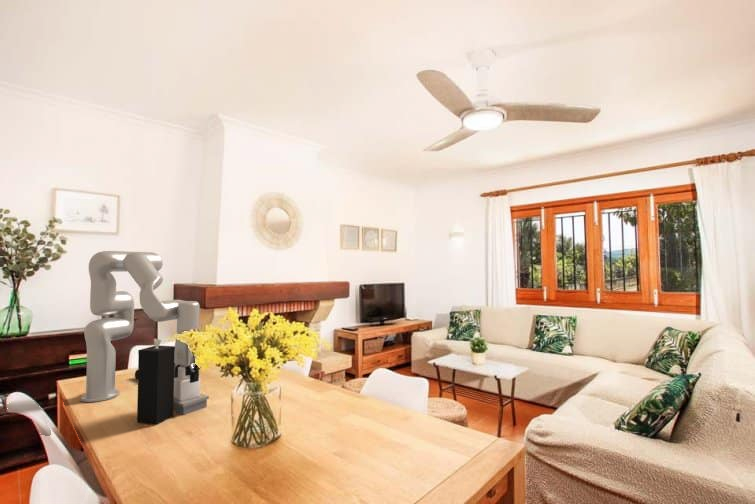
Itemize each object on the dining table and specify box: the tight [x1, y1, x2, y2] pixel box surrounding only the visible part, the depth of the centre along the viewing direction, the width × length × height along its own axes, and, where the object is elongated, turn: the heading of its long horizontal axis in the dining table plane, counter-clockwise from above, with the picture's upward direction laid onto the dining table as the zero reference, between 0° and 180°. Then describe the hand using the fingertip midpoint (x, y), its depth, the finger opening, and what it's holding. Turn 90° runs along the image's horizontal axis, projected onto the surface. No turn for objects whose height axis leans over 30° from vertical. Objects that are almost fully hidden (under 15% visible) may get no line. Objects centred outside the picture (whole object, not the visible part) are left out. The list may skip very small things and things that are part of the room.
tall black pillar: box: [136, 338, 175, 426], centre depth 130 cm, size 8×8×28 cm
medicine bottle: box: [174, 365, 201, 401], centre depth 141 cm, size 7×7×12 cm
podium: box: [173, 393, 210, 416], centre depth 141 cm, size 12×10×4 cm
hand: (186, 379), depth 141 cm, fingers open, 9 cm apart
